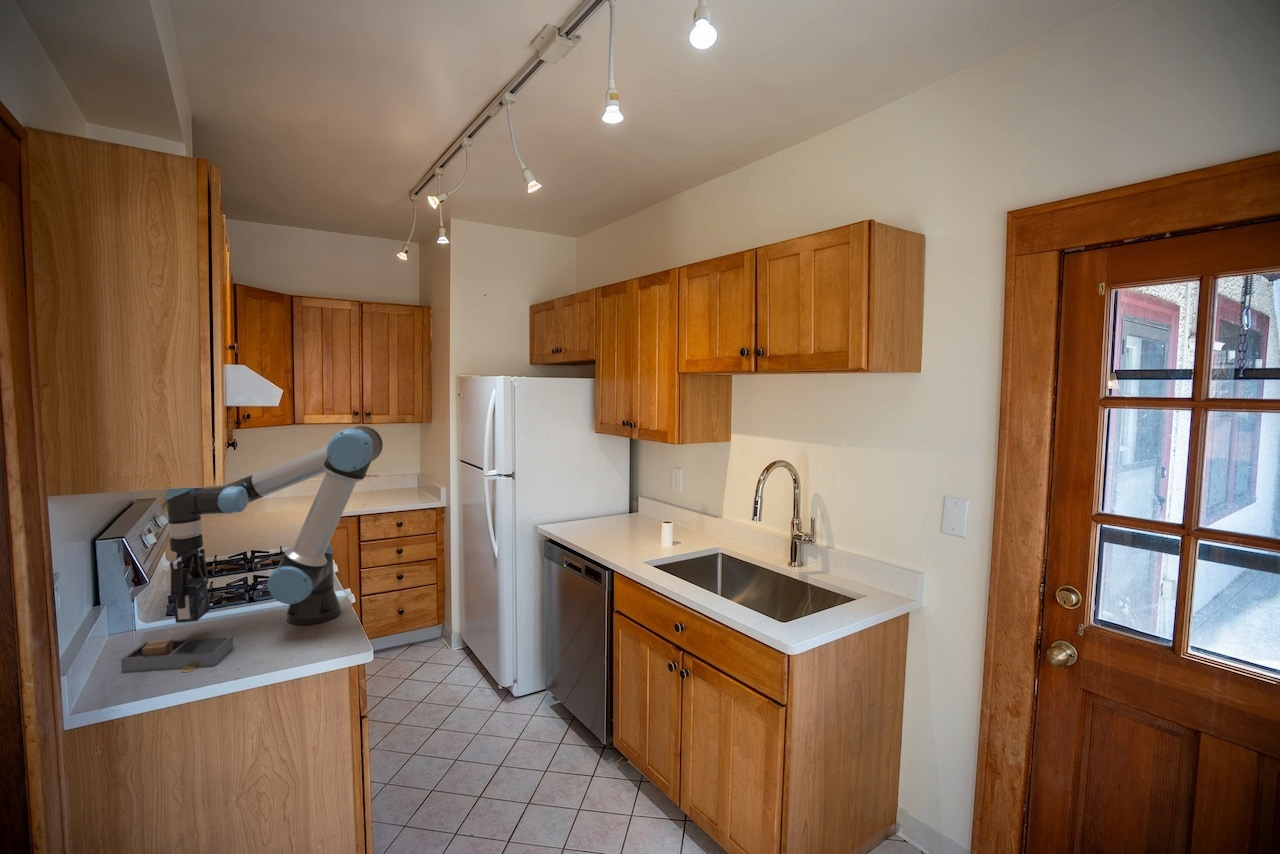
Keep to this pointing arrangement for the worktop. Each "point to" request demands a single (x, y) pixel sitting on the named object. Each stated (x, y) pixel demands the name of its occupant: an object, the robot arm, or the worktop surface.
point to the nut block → (158, 648)
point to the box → (195, 599)
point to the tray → (180, 655)
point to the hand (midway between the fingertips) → (192, 612)
